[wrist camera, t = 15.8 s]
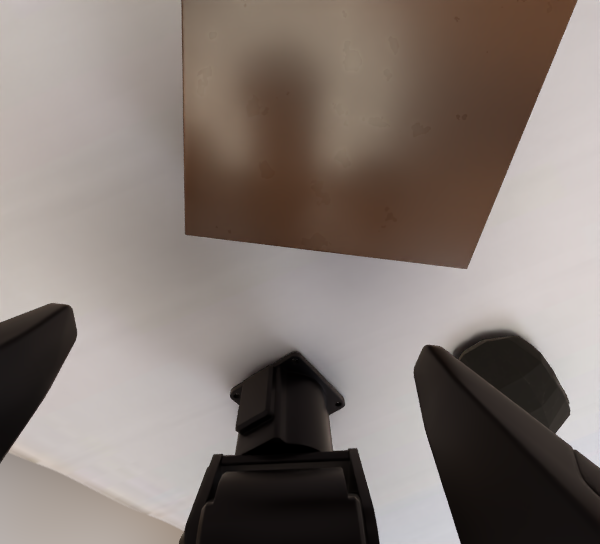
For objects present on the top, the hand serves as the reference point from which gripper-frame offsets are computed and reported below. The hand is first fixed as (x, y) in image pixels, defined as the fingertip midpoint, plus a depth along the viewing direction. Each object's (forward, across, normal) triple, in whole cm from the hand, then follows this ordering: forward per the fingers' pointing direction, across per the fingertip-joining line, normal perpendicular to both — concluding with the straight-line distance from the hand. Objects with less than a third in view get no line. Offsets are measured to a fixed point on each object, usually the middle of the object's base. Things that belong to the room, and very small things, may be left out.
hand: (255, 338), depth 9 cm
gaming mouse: (+12, -20, +12) cm, 27 cm away
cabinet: (+12, -2, -7) cm, 14 cm away
